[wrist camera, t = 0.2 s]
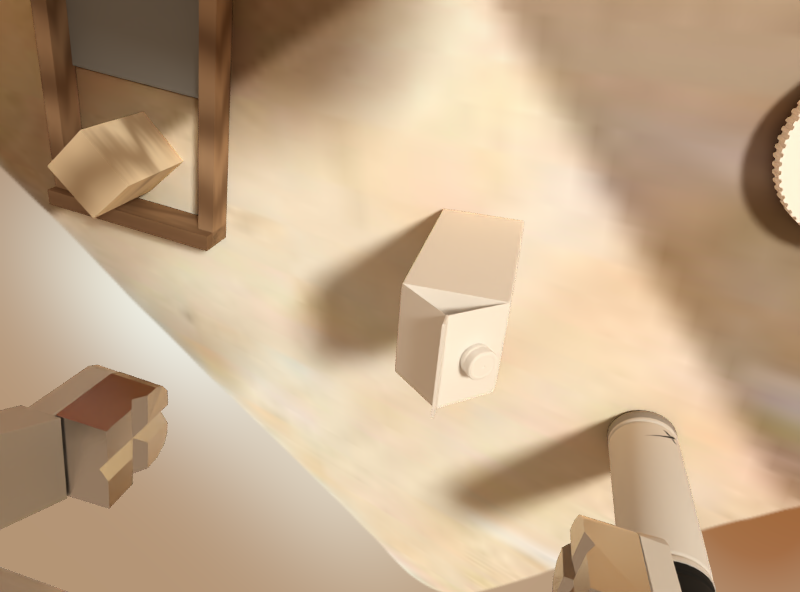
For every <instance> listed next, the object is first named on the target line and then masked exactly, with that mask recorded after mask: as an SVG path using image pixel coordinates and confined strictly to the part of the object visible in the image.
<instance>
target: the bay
mask: <svg viewBox="0 0 800 592" xmlns="http://www.w3.org/2000/svg"><path fill="white" fill-rule="evenodd" d="M31 6H32V14H33V21H34V29H35V36H36V44H37V51H38V58H39V66H40V73H41V81H42V88H43V96H44V103H45V111H46V118H47V126H48V133H49V141H50V148H51V155H52V160H53V159H54V158H55V157H56V156H57V155H58V154H59V153H60V152H61V151H62V150H63V148H64V147H65V146H66V145H67V144H68V143H69V142H70V141H71V140H72V139H73V138H74V136H75V135H76V134H77V133H78V132H79V131H80V130H82V127H81V117H80V107H79V98H78V88H77V78H76V69H75V66H77V67H81V68H85V69H89V70H92V71H96V72H100V73H104V74H108V75H111V76H115V77H119V78H123V79H127V80H130V81H134V82H138V83H142V84H146V85H149V86H153V87H157V88H161V89H165V90H168V91H172V92H176V93H180V94H184V95H187V96H191V97H195V98H199V146H198V215H195V214H191V213H188V212H184V211H181V210H178V209H174V208H171V207H167V206H164V205H160V204H157V203H154V202H150V201H147V200H143V199H140V198H135V199H133V200H131V201H129V202H127V203H125V204H122V205H120V206H118V207H116V208H114V209H112V210H110V211H108V212H106V213H104V214H102V215H100V216H98V217H96V218H98V219H102V220H105V221H108V222H112V223H115V224H118V225H122V226H125V227H128V228H132V229H135V230H138V231H142V232H145V233H148V234H152V235H155V236H158V237H162V238H165V239H168V240H172V241H175V242H178V243H182V244H185V245H189V246H192V247H195V248H199V249H202V250H205V251H207V250H209V249H210V248H212V247H213V246H214V245H216V244H217V243H218V242H220V241H221V240H223V239H224V238H225V237H226V210H227V176H228V142H229V109H230V75H231V42H232V8H233V0H31ZM54 178H55V185H56V187H54V188H51V189H48V195H49V202H50V204H52V205H55V206H58V207H62V208H65V209H68V210H72V211H75V212H78V213H82V214H85V215H88V216H91V215H90V214H89V213H88V212H87V211H86V210H85V209H84V207H83V206H82V205H81V204H80V203H79V202H78V201H77V200H76V198H75V197H74V196H73V195H72V194H71V193H70V192H69V190H68V189H67V188H66V187H65V186H64V185H63V184H62V182H61V181H60V180H59V179H58V178H57V177H56V176H55V175H54Z"/></svg>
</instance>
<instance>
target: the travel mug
mask: <svg viewBox="0 0 800 592" xmlns="http://www.w3.org/2000/svg"><path fill="white" fill-rule="evenodd" d="M607 440H608V450H609V461H610V471H611V482H612V492H613V503H614V513H615V524H616V526H619V527H622V528H625V529H629V530H632V531H634V532H635V531H637V532H641V533H644V534H648V535H651V536H655V537H658V538H662V539H665V541H666V542H667V543H668V544H669V548H670V552H671V555H672V559H673V562H674V566H675V570H676V573H677V577H678V580H679V584H680V587H681V591H682V592H716V589H715V584H714V582H713V576H712V572H711V569H710V564H709V560H708V556H707V552H706V549H705V545H704V541H703V537H702V533H701V529H700V525H699V521H698V517H697V513H696V509H695V505H694V501H693V497H692V493H691V489H690V485H689V481H688V477H687V473H686V469H685V465H684V461H683V457H682V453H681V449H680V445H679V442H678V438H677V434H676V431H675V428H674V426H673V425H672V424H671V422H669V421H668V420H667V419H666V418H664V417H663V416H661V415H659V414H656V413H653V412H649V411H633V412H628V413H625V414H623V415H621V416H619V417H618V418H616V419H615V420H614V421H613V422H612V423H611V425H610V426H609V429H608V432H607Z"/></svg>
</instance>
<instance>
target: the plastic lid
mask: <svg viewBox="0 0 800 592" xmlns="http://www.w3.org/2000/svg"><path fill="white" fill-rule="evenodd" d="M797 104H798V106H797V107H796V108H793V109H792V111H791V113H792V115H791V116H790V117H787V119H786V120H785V121H786V122H787V123H786V125H785V126H782V128H781V130H782V134H781V135H778V138H777V139H778V140H779V142H778V143H777V144H775V148H776V149H777V150H776V152H774V153H773V157H774V158H775V160H774V161H772V165H773V166H774V169H773V170H772V173H773V174H774V175H775V177H774V178H773V182H775V183H776V185H775V186H774V188H775V189H776V190H777V191H778V193H777V196H778V197H779V198H780V199H781V200H780V202H781V204H782V205H783V206H784V209H785V210H786V211H787V212H788V214H789V215H790V216H791V217H792V218H793V219H794V220H795V221H796V222H797V223H798V224H799V225H800V100H799V101H798V102H797Z"/></svg>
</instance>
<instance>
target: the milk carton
mask: <svg viewBox="0 0 800 592" xmlns="http://www.w3.org/2000/svg"><path fill="white" fill-rule="evenodd" d="M523 230H524V221H522V220H515V219H508V218H502V217H495V216H489V215H482V214H476V213H469V212H463V211H456V210H449V209H443V210H442V212H441V214H440V216H439V218H438V219H437V221H436V223H435V225H434V227H433V229H432V230H431V232H430V234H429V236H428V238H427V239H426V241H425V243H424V245H423V247H422V249H421V250H420V252H419V254H418V256H417V258H416V259H415V261H414V263H413V265H412V267H411V269H410V270H409V272H408V274H407V276H406V278H405V279H404V281H403V283H402V287H401V298H400V311H399V324H398V337H397V349H396V363H395V371H396V372H397V373H398V374H399V375H400V376H401V377H402V378H403V379H404V380H405V381H406V382H407V383H408V384H409V385H410V386H412V387H413V388H414V389H415V390H416V391H417V392H418V393H419V394H420V395H421V396H422V397H423V398H424V399H425V400H427V401H428V402H429V403H430V404H431V405H432V411H431V418H434V416H435V412H436V409H437V408H440V407H443V406H447V405H450V404H454V403H457V402H461V401H464V400H468V399H471V398H475V397H478V396H482V395H485V394H488V393H492V392H493V391H494V389H495V385H496V381H497V376H498V371H499V366H500V360H501V355H502V350H503V345H504V339H505V334H506V329H507V323H508V318H509V313H510V307H511V301H512V295H513V289H514V283H515V277H516V271H517V265H518V260H519V254H520V248H521V242H522V236H523Z"/></svg>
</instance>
